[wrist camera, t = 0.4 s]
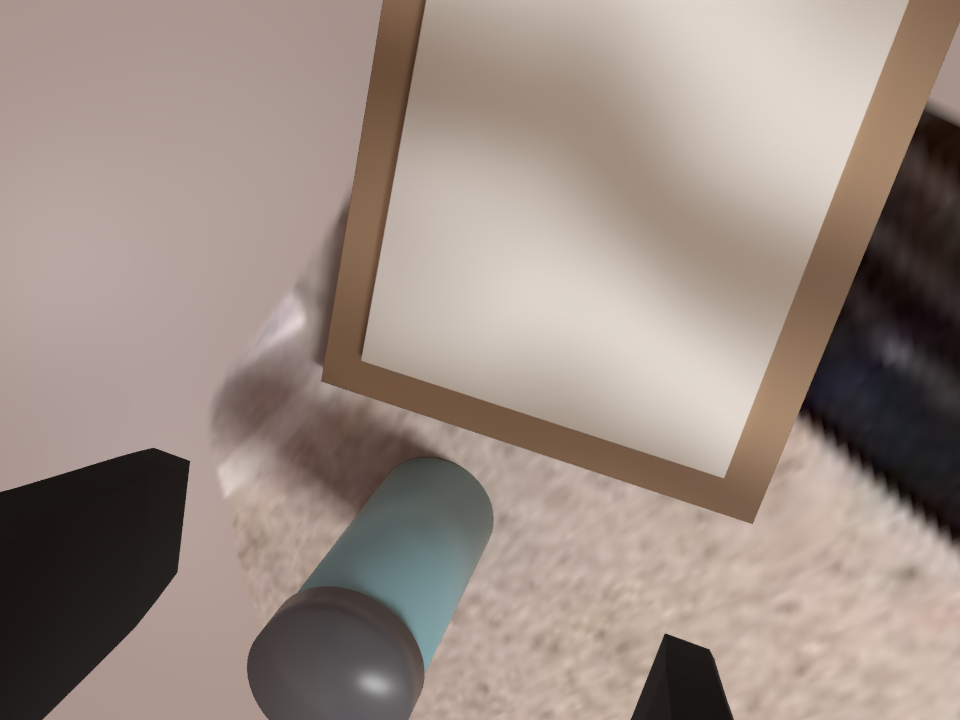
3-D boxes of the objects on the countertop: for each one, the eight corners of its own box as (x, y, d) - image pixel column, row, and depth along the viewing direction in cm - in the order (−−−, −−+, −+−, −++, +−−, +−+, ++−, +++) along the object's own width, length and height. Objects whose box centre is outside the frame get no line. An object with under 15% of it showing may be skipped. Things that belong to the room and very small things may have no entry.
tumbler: (481, 583, 24) (391, 783, 18) (365, 542, 25) (238, 722, 19) (510, 478, 23) (423, 654, 17) (387, 437, 23) (256, 592, 17)
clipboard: (752, 511, 21) (752, 535, 20) (330, 372, 23) (312, 388, 22) (1019, -143, 16) (1038, -153, 15) (436, -261, 18) (418, -277, 17)
